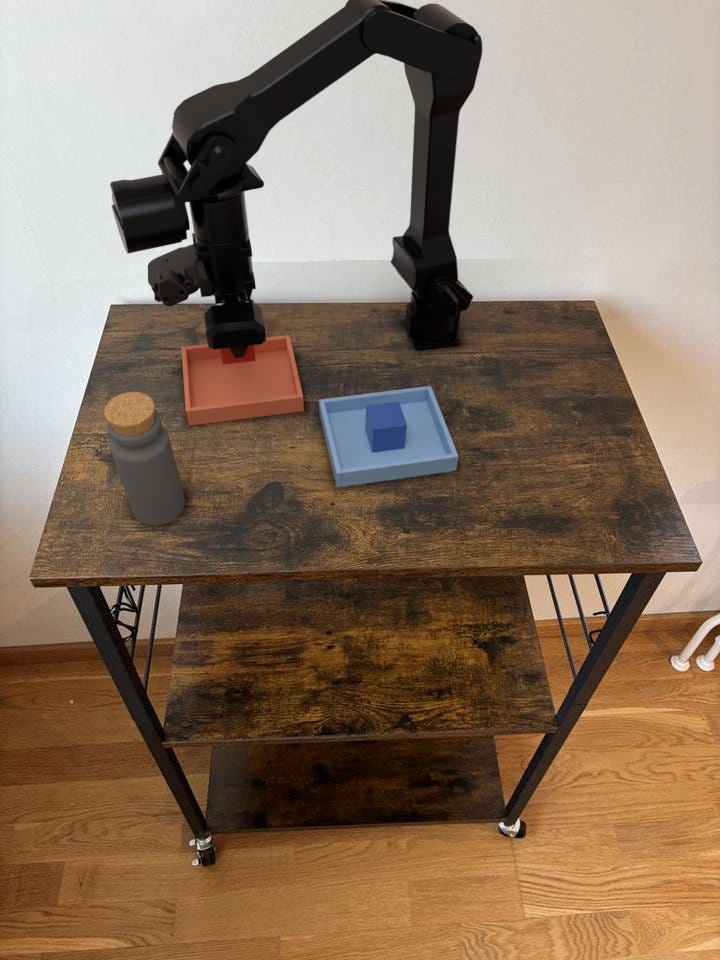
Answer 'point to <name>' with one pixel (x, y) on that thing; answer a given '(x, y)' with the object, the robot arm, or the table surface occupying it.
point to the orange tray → (241, 383)
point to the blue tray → (421, 455)
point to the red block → (229, 358)
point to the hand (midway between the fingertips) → (237, 345)
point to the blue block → (385, 426)
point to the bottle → (144, 459)
